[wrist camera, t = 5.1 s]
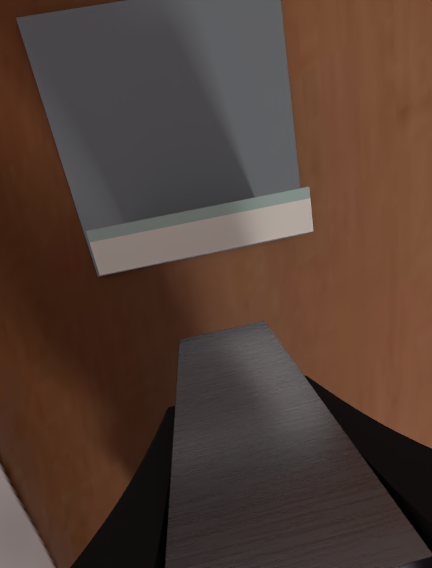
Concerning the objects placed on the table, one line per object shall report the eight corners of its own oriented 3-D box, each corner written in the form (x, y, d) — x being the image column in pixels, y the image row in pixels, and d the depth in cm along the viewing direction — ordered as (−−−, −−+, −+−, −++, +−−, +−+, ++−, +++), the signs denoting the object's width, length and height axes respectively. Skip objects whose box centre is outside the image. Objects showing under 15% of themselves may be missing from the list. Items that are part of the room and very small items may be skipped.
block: (275, 393, 14) (429, 704, 5) (197, 411, 13) (216, 768, 5) (264, 320, 13) (433, 556, 4) (179, 339, 12) (160, 630, 4)
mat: (302, 233, 19) (305, 233, 18) (99, 275, 18) (97, 276, 18) (275, -18, 15) (278, -24, 15) (20, 23, 14) (15, 17, 14)
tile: (259, 224, 18) (313, 231, 10) (138, 248, 18) (99, 275, 10) (255, 199, 17) (309, 186, 10) (131, 223, 17) (85, 231, 9)
